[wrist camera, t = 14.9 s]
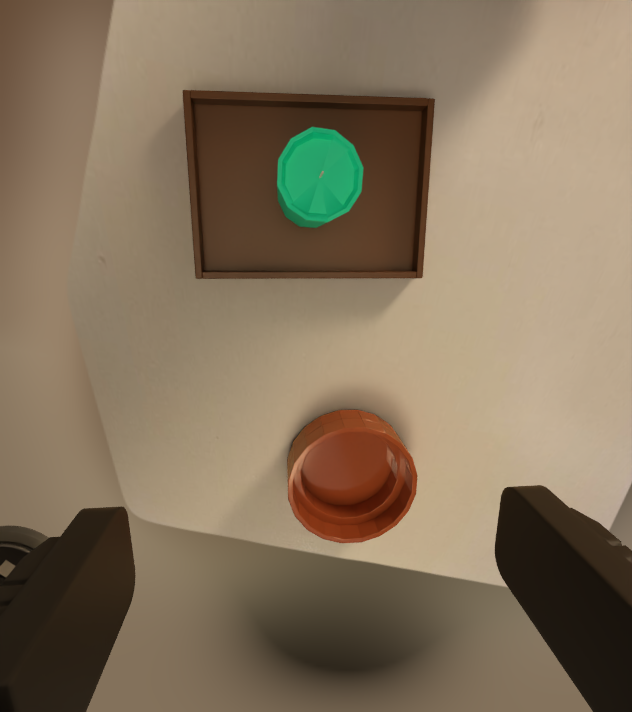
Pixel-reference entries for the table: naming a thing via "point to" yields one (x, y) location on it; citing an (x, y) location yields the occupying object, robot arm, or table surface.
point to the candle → (318, 177)
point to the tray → (260, 197)
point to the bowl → (350, 477)
